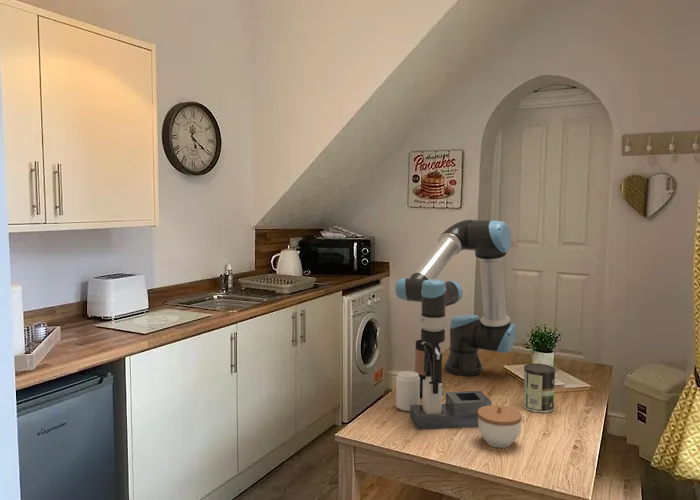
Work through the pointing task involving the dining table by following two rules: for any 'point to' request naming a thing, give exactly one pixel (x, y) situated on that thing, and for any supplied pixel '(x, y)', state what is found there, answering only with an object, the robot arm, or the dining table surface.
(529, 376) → the coffee can
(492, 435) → the lidded bowl
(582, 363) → the dining table surface
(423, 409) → the plug
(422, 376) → the travel mug
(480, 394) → the grey stepped socket block
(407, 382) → the beverage can
